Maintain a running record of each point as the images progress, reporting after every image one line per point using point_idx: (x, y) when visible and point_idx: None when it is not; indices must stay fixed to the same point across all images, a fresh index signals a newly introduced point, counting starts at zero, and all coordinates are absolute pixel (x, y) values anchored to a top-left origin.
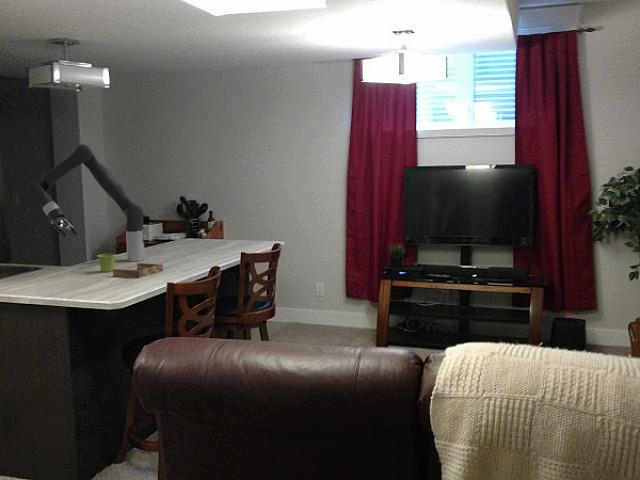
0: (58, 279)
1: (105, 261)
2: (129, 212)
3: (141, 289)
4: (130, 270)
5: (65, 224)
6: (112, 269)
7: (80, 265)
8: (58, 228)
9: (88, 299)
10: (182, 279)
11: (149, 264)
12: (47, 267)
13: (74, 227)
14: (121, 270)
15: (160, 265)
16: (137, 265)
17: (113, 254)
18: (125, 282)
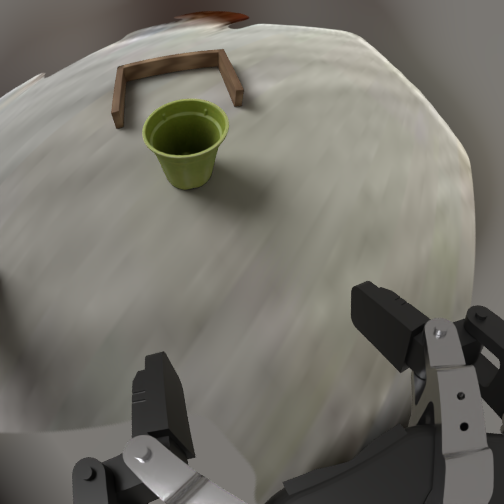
0: (378, 189)
1: (211, 126)
2: None
3: (291, 32)
4: (228, 59)
5: (344, 471)
6: (184, 148)
7: None
8: (468, 316)
9: (376, 56)
10: (189, 28)
11: (121, 84)
12: (283, 475)
13: (134, 438)
14: (235, 74)
15: (126, 65)
16: (120, 114)
17: (147, 126)
18: (274, 59)
